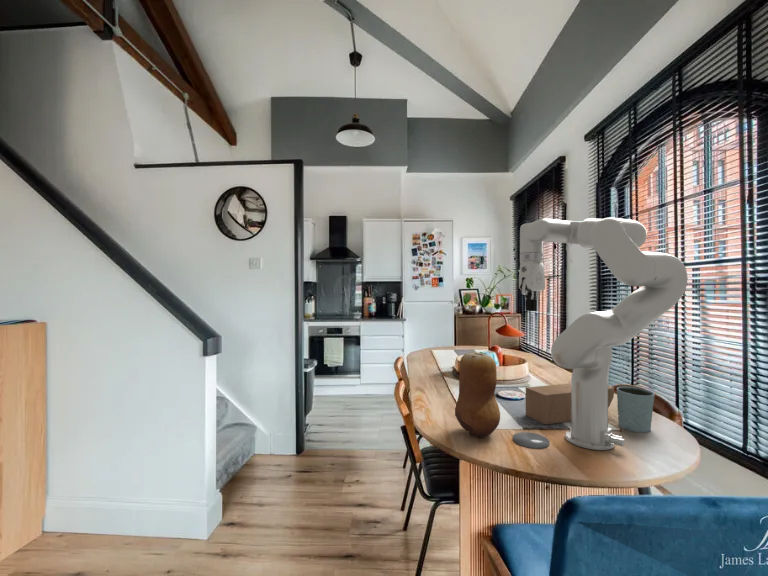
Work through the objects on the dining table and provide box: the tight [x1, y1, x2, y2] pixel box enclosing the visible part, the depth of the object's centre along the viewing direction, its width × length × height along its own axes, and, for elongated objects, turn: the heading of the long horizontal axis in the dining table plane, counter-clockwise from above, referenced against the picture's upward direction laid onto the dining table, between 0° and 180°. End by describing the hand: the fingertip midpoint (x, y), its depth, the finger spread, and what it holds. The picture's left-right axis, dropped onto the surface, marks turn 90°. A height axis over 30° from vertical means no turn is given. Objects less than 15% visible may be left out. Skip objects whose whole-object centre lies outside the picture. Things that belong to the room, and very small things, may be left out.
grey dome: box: [512, 431, 551, 449], centre depth 107 cm, size 10×10×1 cm
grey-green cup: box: [616, 386, 656, 433], centre depth 117 cm, size 10×10×12 cm
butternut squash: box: [454, 352, 501, 438], centre depth 112 cm, size 14×13×25 cm
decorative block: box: [525, 382, 615, 425], centre depth 128 cm, size 10×10×30 cm
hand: (531, 310), depth 127 cm, fingers closed
